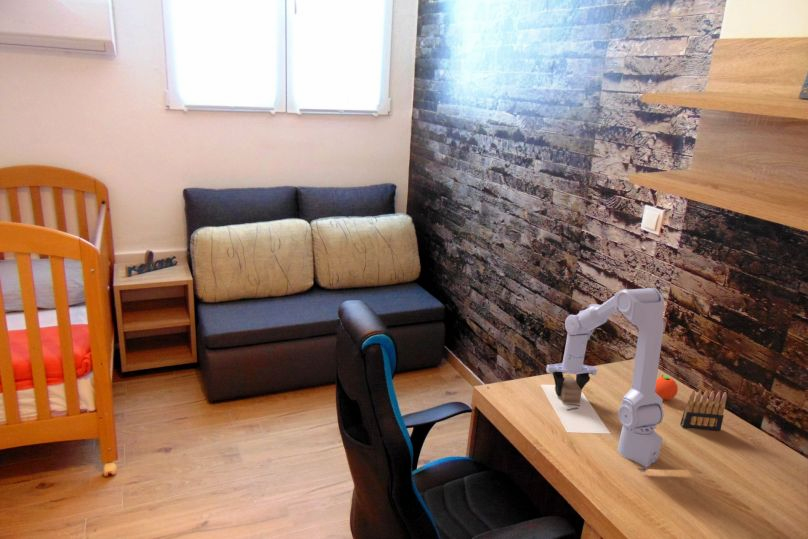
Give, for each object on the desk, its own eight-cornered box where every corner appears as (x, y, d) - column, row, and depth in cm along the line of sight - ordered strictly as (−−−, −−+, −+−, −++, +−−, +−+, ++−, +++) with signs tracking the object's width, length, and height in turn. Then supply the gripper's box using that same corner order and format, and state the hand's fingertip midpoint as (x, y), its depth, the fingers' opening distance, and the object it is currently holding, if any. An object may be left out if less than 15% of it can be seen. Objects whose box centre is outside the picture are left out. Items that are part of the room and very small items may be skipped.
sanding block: (579, 404, 177) (581, 390, 176) (562, 403, 177) (565, 389, 175) (570, 390, 185) (572, 377, 183) (554, 389, 184) (556, 376, 183)
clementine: (646, 389, 192) (651, 369, 189) (668, 391, 192) (673, 371, 189) (655, 402, 184) (660, 382, 182) (678, 404, 184) (683, 384, 182)
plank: (609, 437, 164) (610, 433, 163) (566, 436, 163) (567, 432, 162) (577, 389, 188) (577, 385, 188) (539, 387, 187) (540, 384, 187)
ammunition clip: (717, 427, 173) (727, 390, 169) (720, 431, 171) (730, 393, 168) (679, 424, 173) (689, 387, 169) (682, 428, 171) (692, 390, 168)
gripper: (593, 348, 181) (585, 388, 185) (546, 346, 179) (539, 387, 184) (602, 359, 174) (594, 400, 178) (553, 357, 173) (546, 399, 177)
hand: (567, 394), depth 180 cm, fingers closed on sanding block, 5 cm apart
